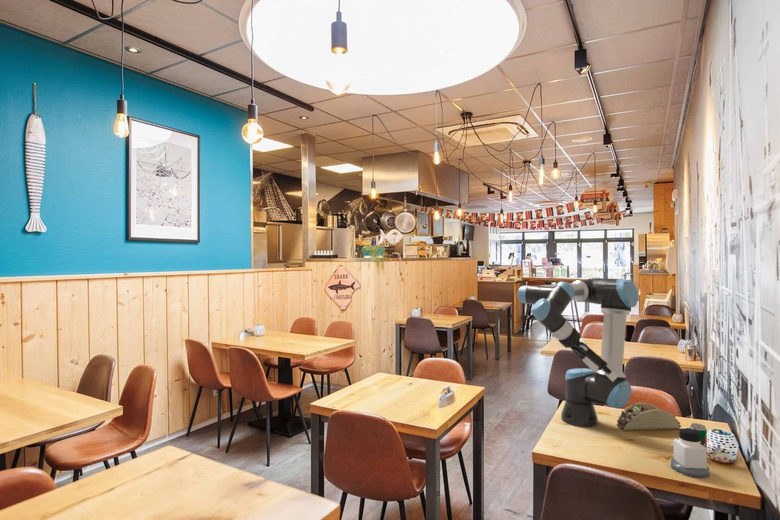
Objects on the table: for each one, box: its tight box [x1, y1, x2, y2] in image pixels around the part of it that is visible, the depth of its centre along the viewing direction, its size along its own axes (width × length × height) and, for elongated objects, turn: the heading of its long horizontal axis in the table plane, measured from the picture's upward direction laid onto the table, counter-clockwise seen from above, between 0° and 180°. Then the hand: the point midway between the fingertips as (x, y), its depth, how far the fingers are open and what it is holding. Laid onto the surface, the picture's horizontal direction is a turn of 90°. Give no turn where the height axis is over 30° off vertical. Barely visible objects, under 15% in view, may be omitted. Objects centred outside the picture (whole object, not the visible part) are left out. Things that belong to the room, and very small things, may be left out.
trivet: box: [670, 457, 711, 479], centre depth 150 cm, size 11×11×2 cm
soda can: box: [689, 422, 708, 449], centre depth 160 cm, size 5×5×12 cm
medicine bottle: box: [673, 426, 708, 469], centre depth 150 cm, size 7×7×12 cm
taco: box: [616, 402, 682, 431], centre depth 188 cm, size 10×27×10 cm, turn 95°
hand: (605, 374), depth 163 cm, fingers open, 13 cm apart
